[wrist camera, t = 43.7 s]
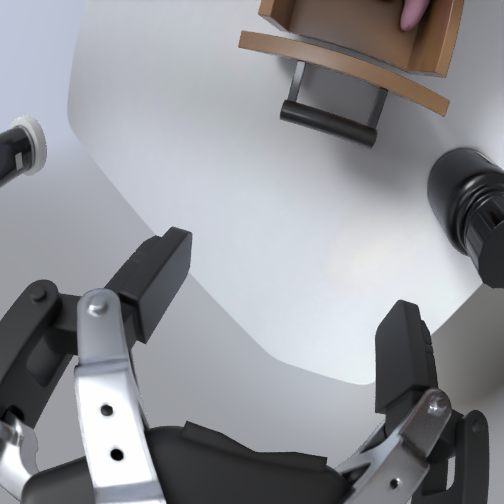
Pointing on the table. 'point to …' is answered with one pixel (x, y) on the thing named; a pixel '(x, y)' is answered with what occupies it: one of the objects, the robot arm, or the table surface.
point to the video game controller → (412, 13)
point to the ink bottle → (471, 209)
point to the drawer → (363, 41)
